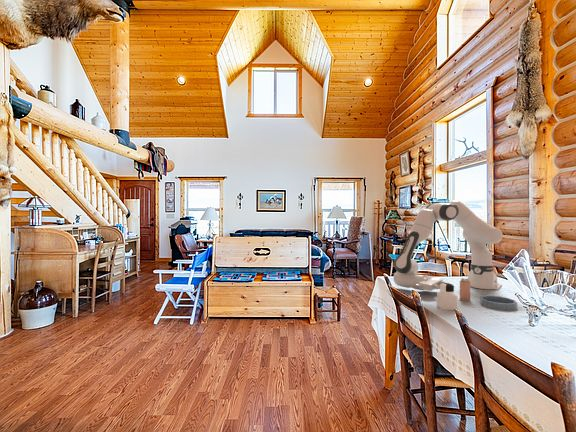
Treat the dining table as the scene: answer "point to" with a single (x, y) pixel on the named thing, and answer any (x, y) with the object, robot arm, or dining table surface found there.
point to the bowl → (498, 302)
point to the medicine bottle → (447, 297)
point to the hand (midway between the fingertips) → (446, 286)
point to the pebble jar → (464, 290)
